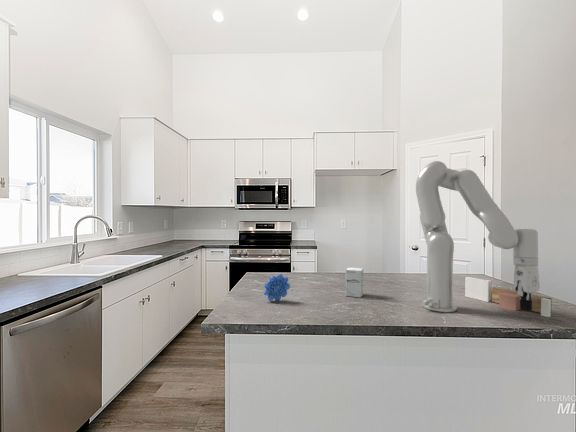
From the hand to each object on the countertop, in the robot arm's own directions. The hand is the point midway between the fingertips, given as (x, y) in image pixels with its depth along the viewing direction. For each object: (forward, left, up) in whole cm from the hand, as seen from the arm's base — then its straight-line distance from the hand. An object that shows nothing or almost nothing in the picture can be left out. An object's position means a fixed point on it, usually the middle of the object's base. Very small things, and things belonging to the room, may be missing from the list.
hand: (526, 309), depth 119 cm
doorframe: (+9, +12, -2) cm, 15 cm away
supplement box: (-34, +56, -3) cm, 66 cm away
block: (+7, +8, -3) cm, 11 cm away
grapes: (-70, +67, -3) cm, 97 cm away
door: (+10, +6, -2) cm, 12 cm away
